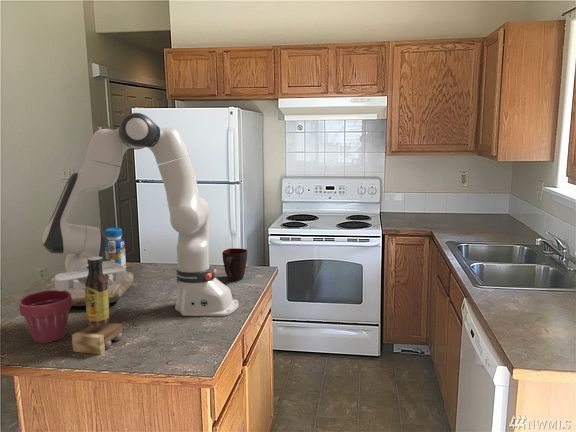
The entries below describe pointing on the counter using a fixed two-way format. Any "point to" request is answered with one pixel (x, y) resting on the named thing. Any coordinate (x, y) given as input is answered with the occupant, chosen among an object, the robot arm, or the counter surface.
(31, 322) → the plant pot
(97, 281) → the sauce bottle
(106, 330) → the roller board
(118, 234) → the beverage bottle
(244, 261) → the cup
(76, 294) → the stone slab
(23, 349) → the counter surface
